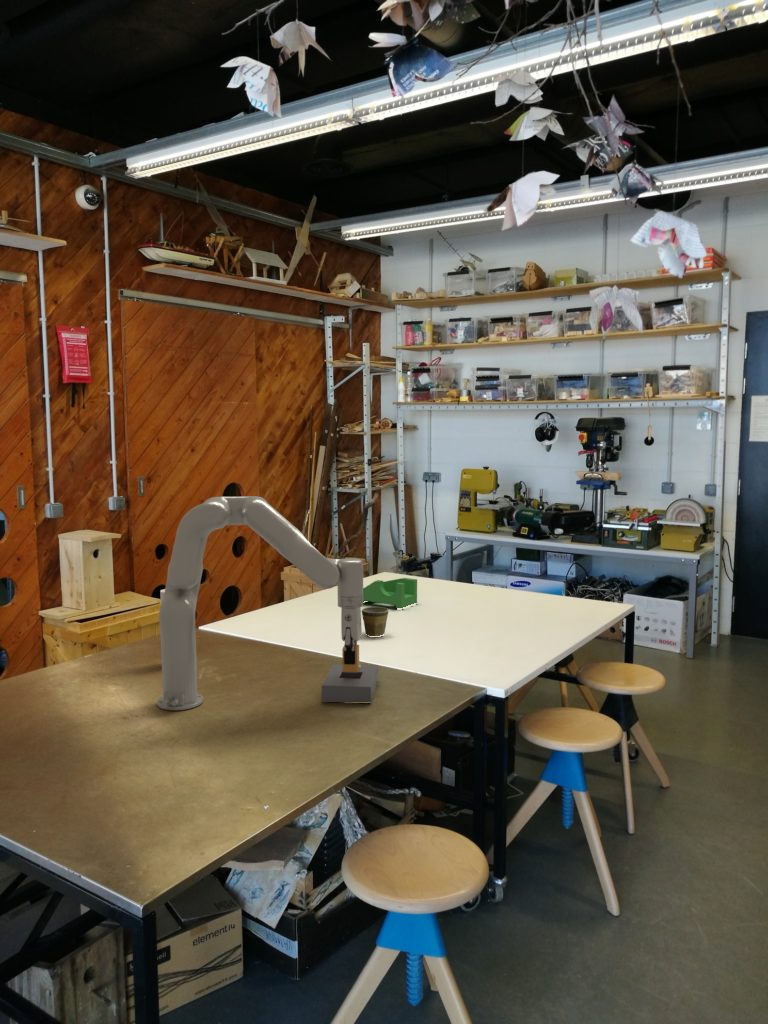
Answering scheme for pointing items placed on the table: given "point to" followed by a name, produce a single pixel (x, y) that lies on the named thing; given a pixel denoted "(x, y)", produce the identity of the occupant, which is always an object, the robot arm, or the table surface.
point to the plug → (356, 666)
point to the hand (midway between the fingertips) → (350, 660)
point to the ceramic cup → (375, 620)
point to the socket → (350, 684)
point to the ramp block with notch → (392, 592)
